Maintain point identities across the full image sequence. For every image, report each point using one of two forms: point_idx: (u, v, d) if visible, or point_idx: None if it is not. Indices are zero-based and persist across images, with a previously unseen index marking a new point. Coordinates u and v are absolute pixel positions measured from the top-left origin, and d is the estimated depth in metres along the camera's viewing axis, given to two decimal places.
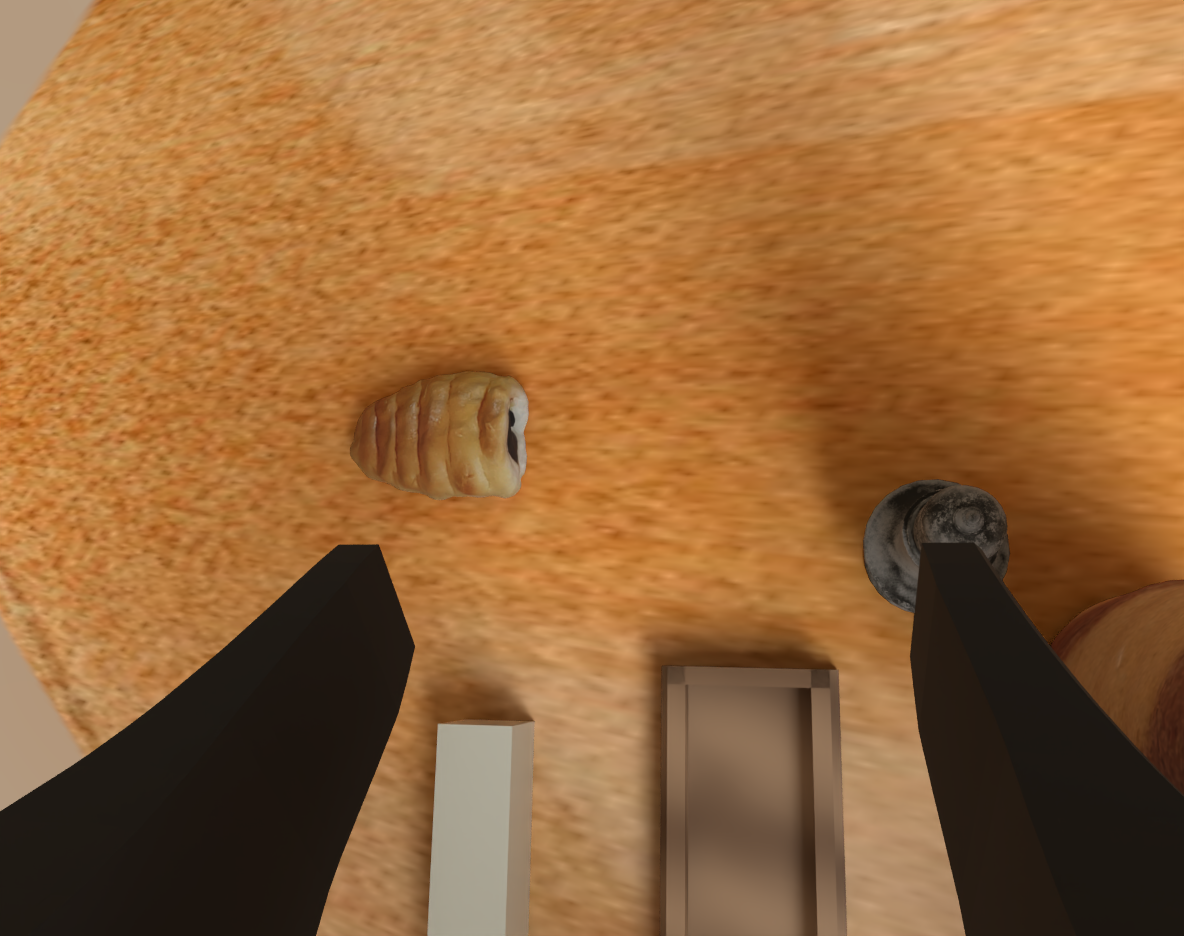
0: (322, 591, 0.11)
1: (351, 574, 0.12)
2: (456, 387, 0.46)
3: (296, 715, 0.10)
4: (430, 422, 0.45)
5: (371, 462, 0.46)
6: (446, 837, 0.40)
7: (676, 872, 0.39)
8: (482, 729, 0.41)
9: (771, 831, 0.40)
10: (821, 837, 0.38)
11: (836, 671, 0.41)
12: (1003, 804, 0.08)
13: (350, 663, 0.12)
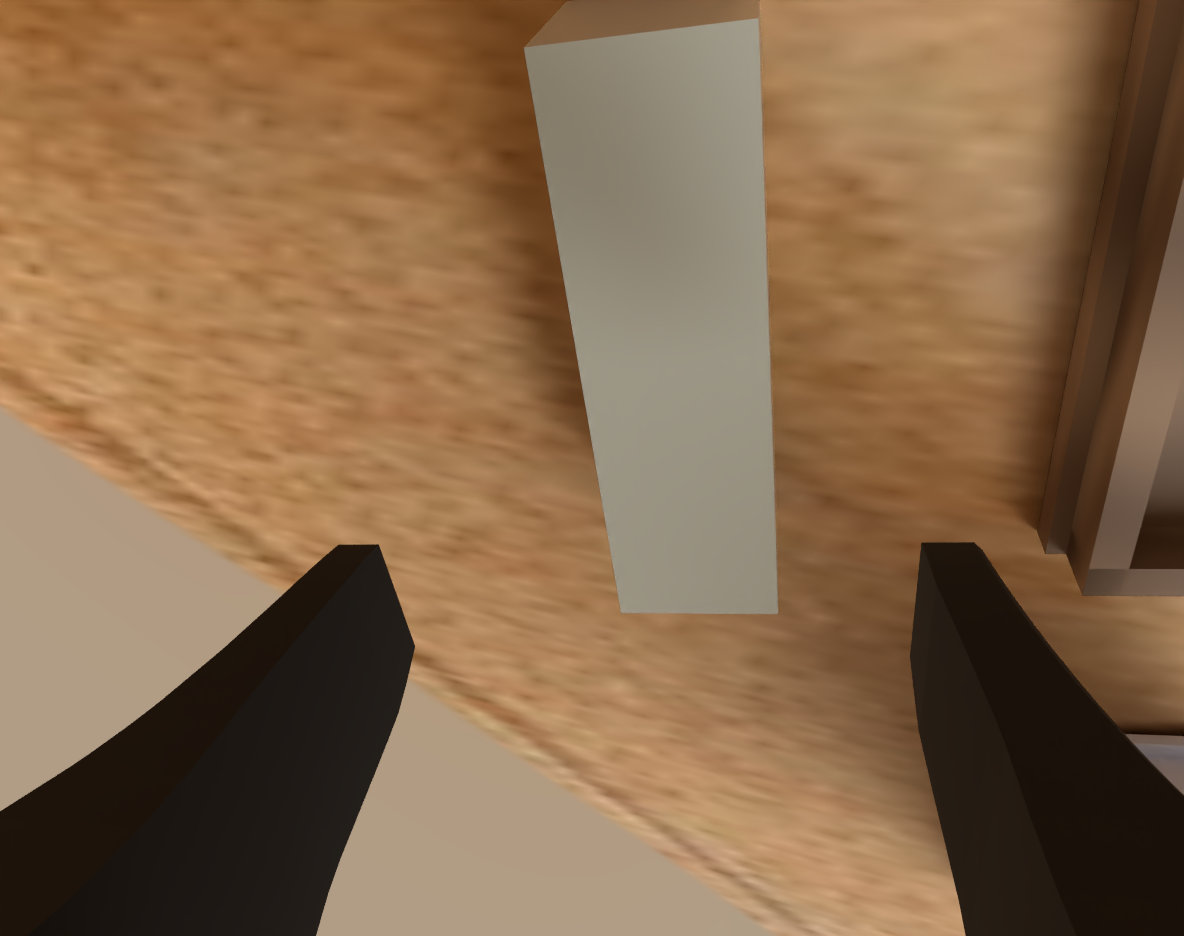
0: (322, 591, 0.11)
1: (351, 574, 0.12)
2: None
3: (296, 715, 0.10)
4: None
5: None
6: (608, 328, 0.16)
7: (1176, 315, 0.16)
8: (664, 43, 0.13)
9: None
10: None
11: None
12: (1003, 804, 0.08)
13: (350, 663, 0.12)
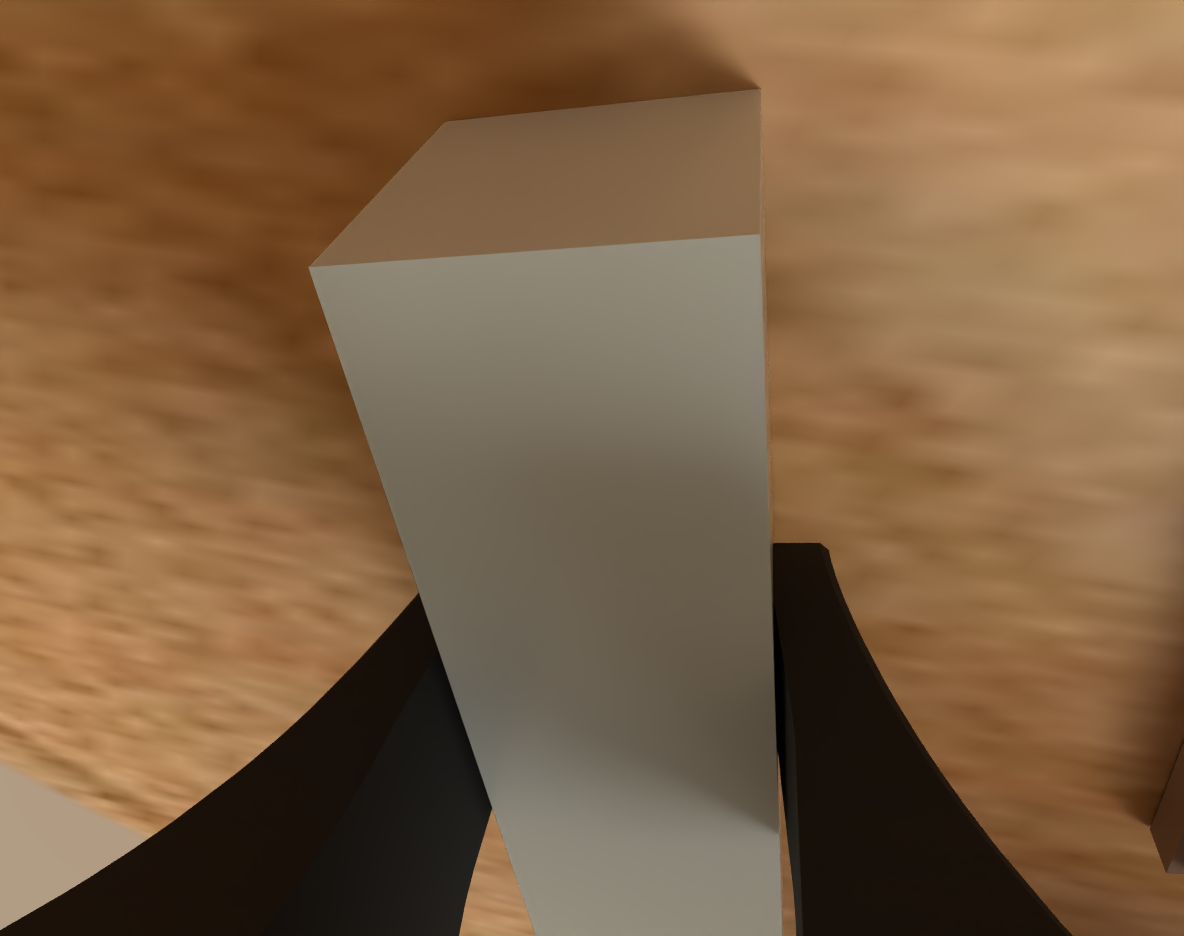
0: None
1: None
2: None
3: (442, 720, 0.10)
4: None
5: None
6: (505, 678, 0.10)
7: None
8: (574, 270, 0.07)
9: None
10: None
11: None
12: None
13: None
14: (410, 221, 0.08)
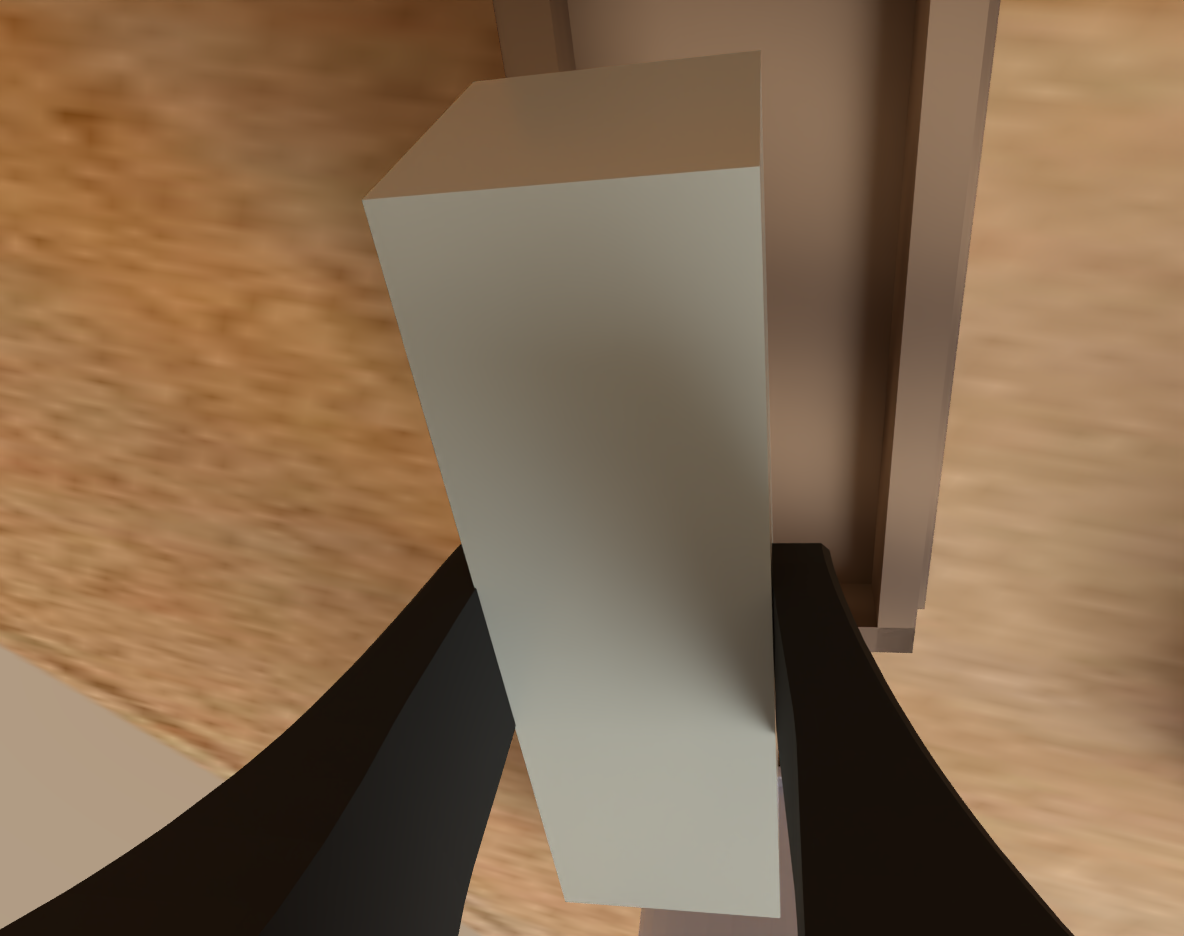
0: (457, 592, 0.11)
1: None
2: None
3: (441, 720, 0.10)
4: None
5: None
6: (527, 589, 0.11)
7: None
8: (597, 200, 0.08)
9: (793, 285, 0.17)
10: (920, 307, 0.16)
11: None
12: (796, 794, 0.08)
13: (482, 666, 0.11)
14: (449, 163, 0.09)
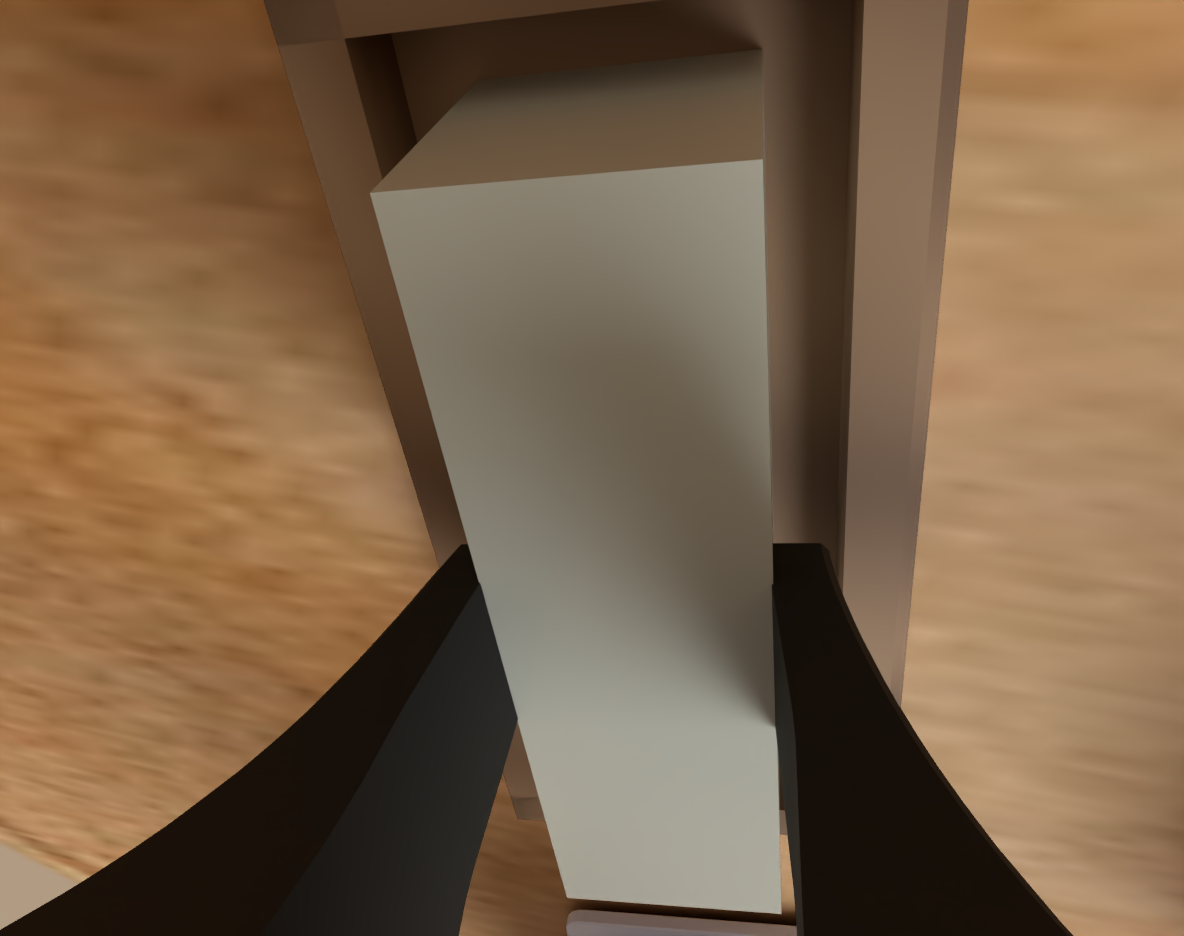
0: (458, 592, 0.11)
1: None
2: None
3: (441, 720, 0.10)
4: None
5: None
6: (531, 582, 0.11)
7: None
8: (602, 193, 0.08)
9: None
10: (866, 474, 0.12)
11: None
12: (796, 794, 0.08)
13: (482, 666, 0.11)
14: (455, 157, 0.09)
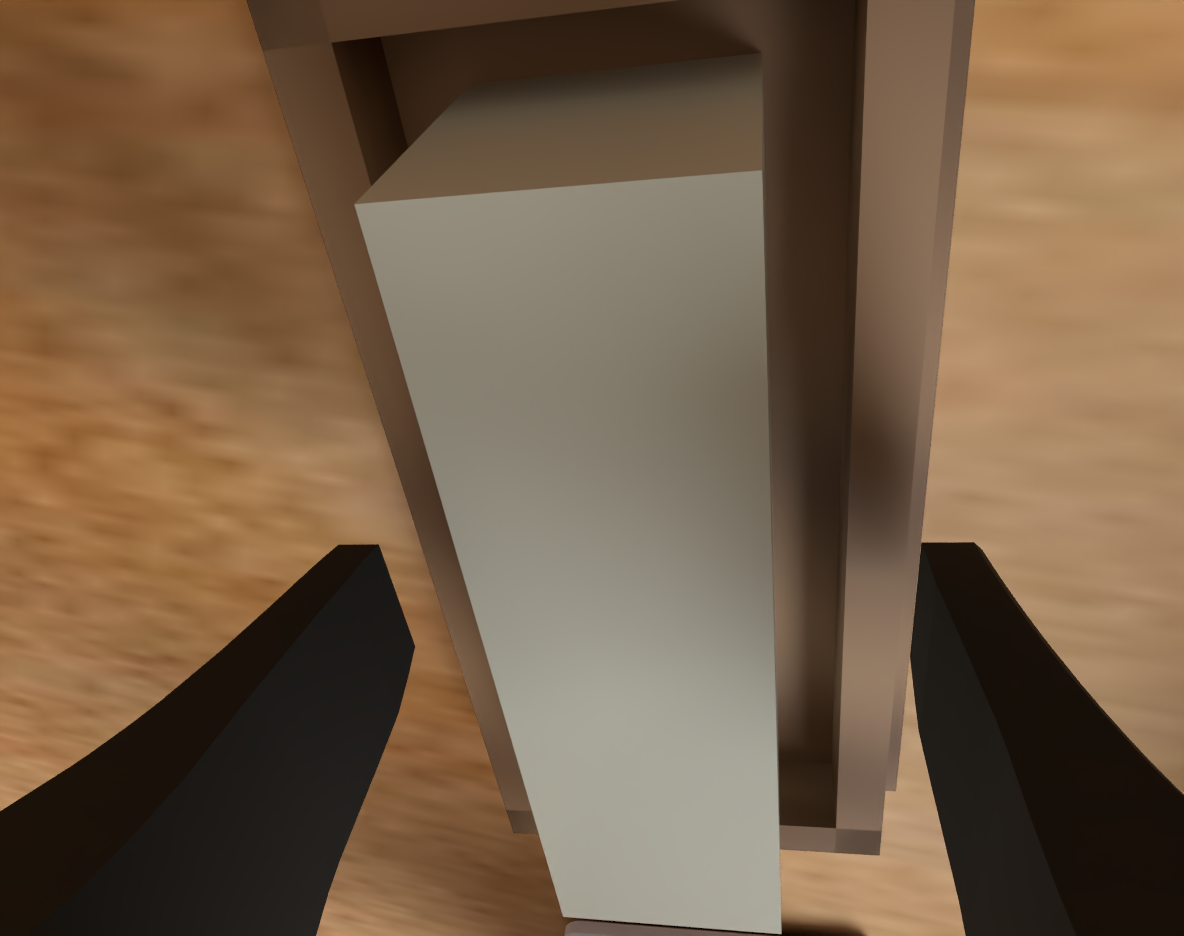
0: (322, 591, 0.11)
1: (351, 574, 0.12)
2: None
3: (296, 715, 0.10)
4: None
5: None
6: (524, 601, 0.11)
7: (460, 584, 0.14)
8: (595, 205, 0.08)
9: None
10: (869, 488, 0.12)
11: None
12: (1003, 804, 0.08)
13: (350, 663, 0.12)
14: (444, 166, 0.08)
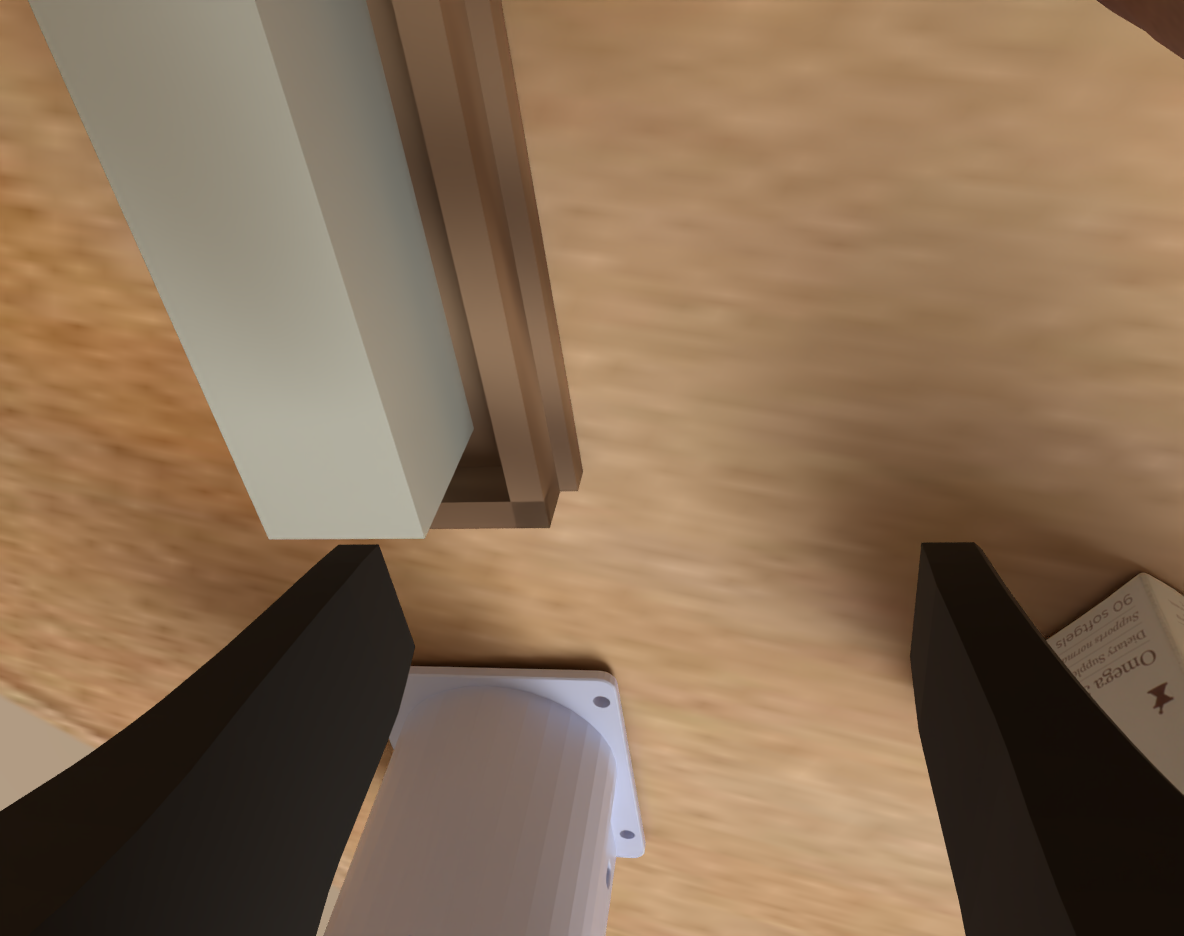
0: (322, 591, 0.11)
1: (351, 574, 0.12)
2: None
3: (296, 715, 0.10)
4: None
5: None
6: (157, 207, 0.15)
7: None
8: None
9: None
10: (444, 161, 0.17)
11: None
12: (1003, 804, 0.08)
13: (350, 663, 0.12)
14: None
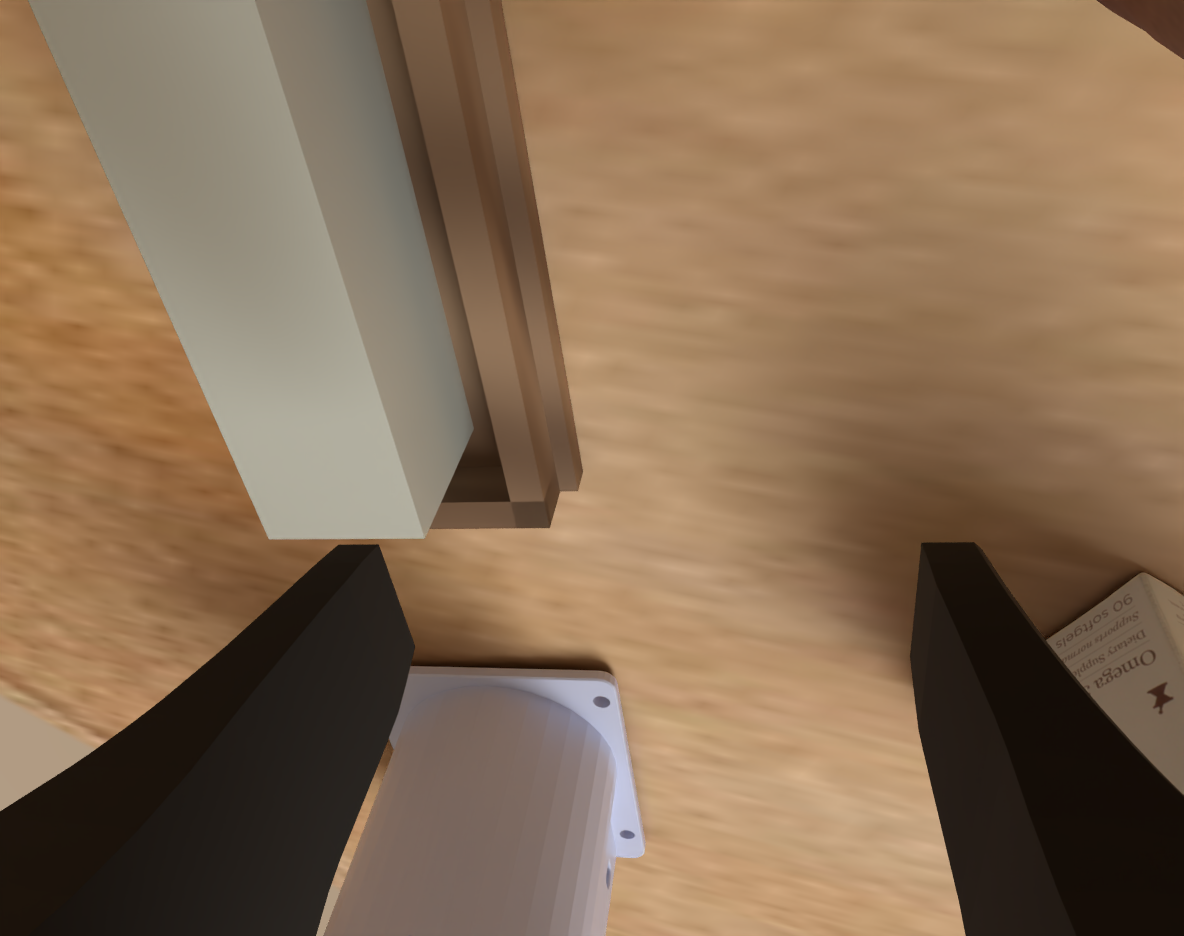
0: (322, 591, 0.11)
1: (351, 574, 0.12)
2: None
3: (296, 715, 0.10)
4: None
5: None
6: (157, 207, 0.15)
7: None
8: None
9: None
10: (444, 161, 0.17)
11: None
12: (1003, 804, 0.08)
13: (350, 663, 0.12)
14: None
